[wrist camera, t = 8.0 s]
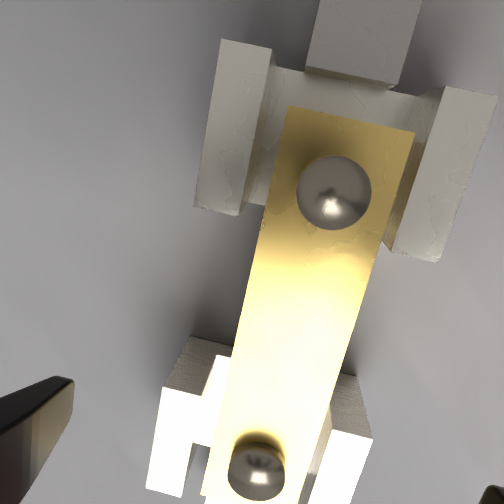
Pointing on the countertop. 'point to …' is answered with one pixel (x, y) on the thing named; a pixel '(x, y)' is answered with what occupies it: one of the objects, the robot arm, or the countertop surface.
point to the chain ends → (256, 191)
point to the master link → (302, 300)
